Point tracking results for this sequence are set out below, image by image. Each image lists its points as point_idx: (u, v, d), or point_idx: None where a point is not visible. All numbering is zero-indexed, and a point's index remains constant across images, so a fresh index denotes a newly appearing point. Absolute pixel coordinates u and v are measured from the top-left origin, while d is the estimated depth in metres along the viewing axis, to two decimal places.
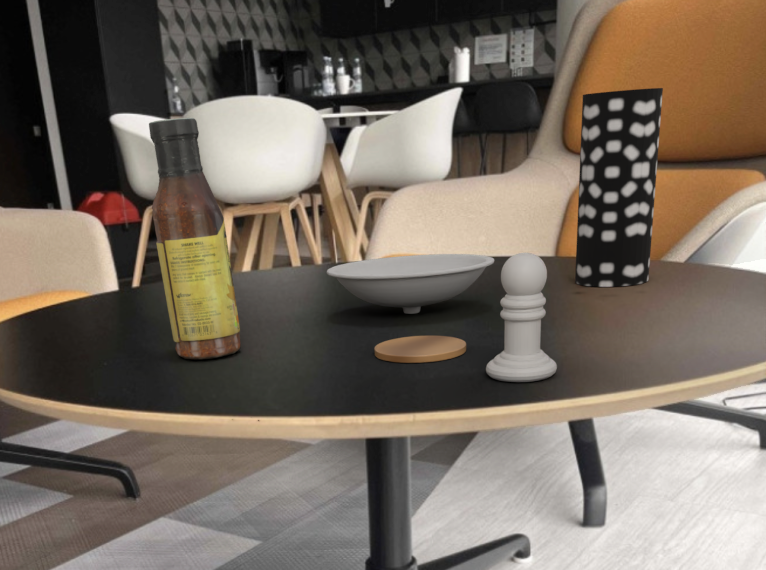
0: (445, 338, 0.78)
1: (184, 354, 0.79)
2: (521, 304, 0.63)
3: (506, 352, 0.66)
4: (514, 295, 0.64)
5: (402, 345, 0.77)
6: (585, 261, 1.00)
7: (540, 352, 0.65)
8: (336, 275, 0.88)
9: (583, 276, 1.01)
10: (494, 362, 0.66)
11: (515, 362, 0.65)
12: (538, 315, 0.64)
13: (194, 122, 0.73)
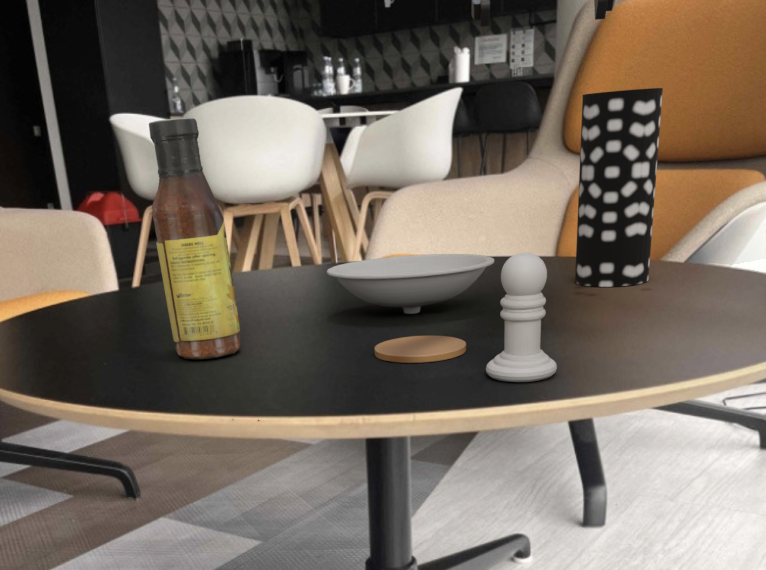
0: (445, 338, 0.78)
1: (184, 354, 0.79)
2: (521, 304, 0.63)
3: (506, 352, 0.66)
4: (514, 295, 0.64)
5: (402, 345, 0.77)
6: (585, 261, 1.00)
7: (540, 352, 0.65)
8: (336, 275, 0.88)
9: (583, 276, 1.01)
10: (494, 362, 0.66)
11: (515, 362, 0.65)
12: (538, 315, 0.64)
13: (194, 122, 0.73)
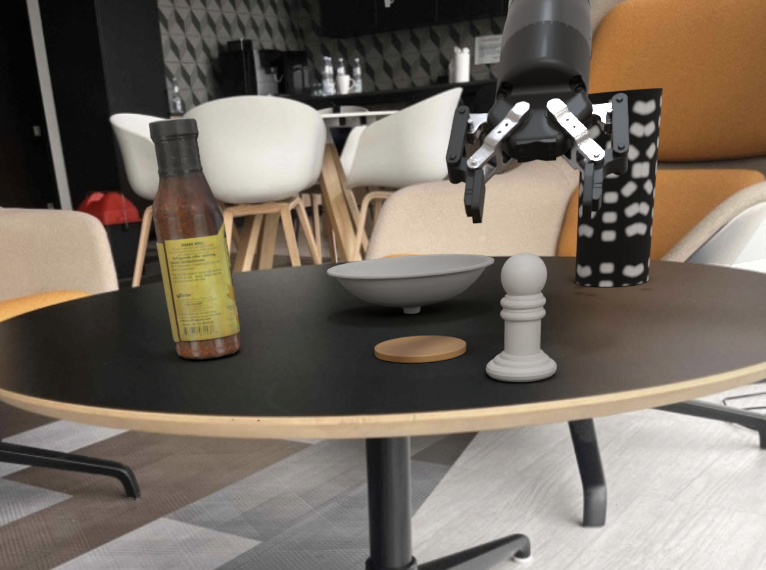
0: (445, 338, 0.78)
1: (184, 354, 0.79)
2: (521, 304, 0.63)
3: (506, 352, 0.66)
4: (514, 295, 0.64)
5: (402, 345, 0.77)
6: (585, 261, 1.00)
7: (540, 352, 0.65)
8: (336, 275, 0.88)
9: (583, 276, 1.01)
10: (494, 362, 0.66)
11: (515, 362, 0.65)
12: (538, 315, 0.64)
13: (194, 122, 0.73)
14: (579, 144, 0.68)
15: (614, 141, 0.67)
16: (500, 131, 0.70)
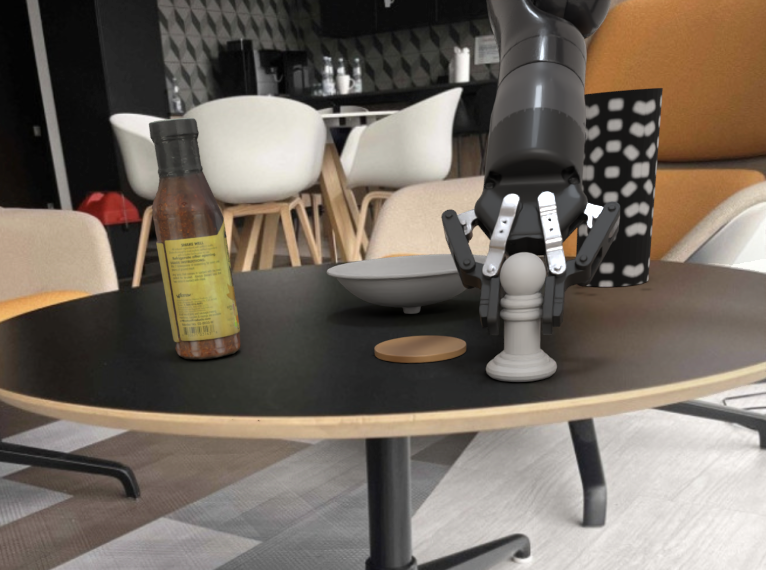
0: (445, 338, 0.78)
1: (184, 354, 0.79)
2: (520, 304, 0.63)
3: (506, 352, 0.66)
4: (513, 295, 0.64)
5: (402, 345, 0.77)
6: None
7: (540, 352, 0.65)
8: (336, 275, 0.88)
9: None
10: (494, 362, 0.66)
11: (515, 362, 0.65)
12: (537, 315, 0.64)
13: (194, 122, 0.73)
14: (548, 249, 0.64)
15: (580, 251, 0.63)
16: (502, 230, 0.65)
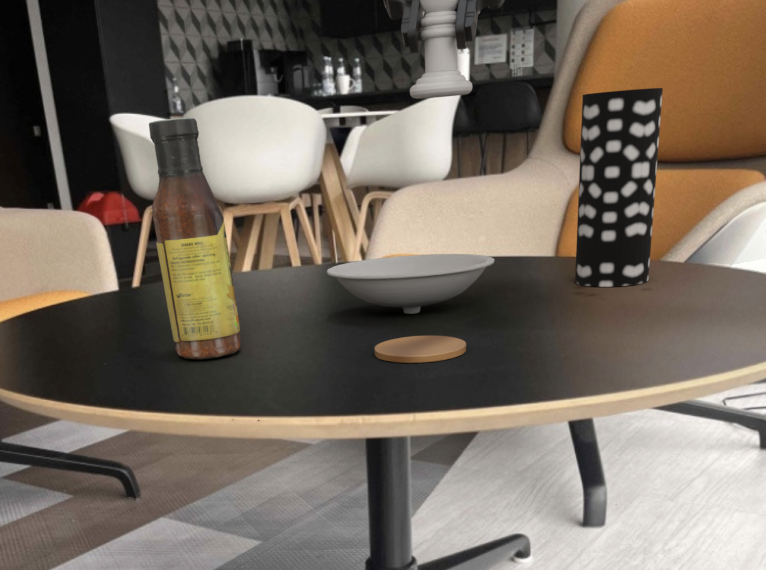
0: (445, 338, 0.78)
1: (184, 354, 0.79)
2: (437, 19, 0.71)
3: (426, 72, 0.73)
4: (431, 12, 0.71)
5: (402, 345, 0.77)
6: (585, 261, 1.00)
7: None
8: (336, 275, 0.88)
9: (583, 276, 1.01)
10: (416, 83, 0.74)
11: (433, 77, 0.72)
12: (452, 30, 0.71)
13: (194, 122, 0.73)
14: None
15: None
16: None
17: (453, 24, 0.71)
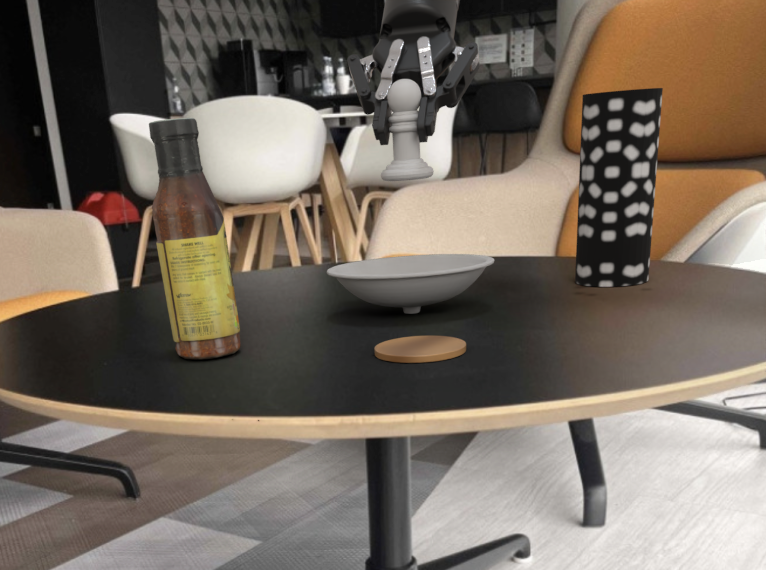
0: (445, 338, 0.78)
1: (184, 354, 0.79)
2: (402, 117, 0.84)
3: (394, 159, 0.87)
4: (397, 111, 0.85)
5: (402, 345, 0.77)
6: (585, 261, 1.00)
7: (419, 158, 0.87)
8: (336, 275, 0.88)
9: (583, 276, 1.01)
10: (386, 168, 0.88)
11: (400, 165, 0.86)
12: (415, 127, 0.85)
13: (194, 122, 0.73)
14: (423, 78, 0.85)
15: (446, 78, 0.84)
16: (390, 65, 0.86)
17: (416, 121, 0.85)
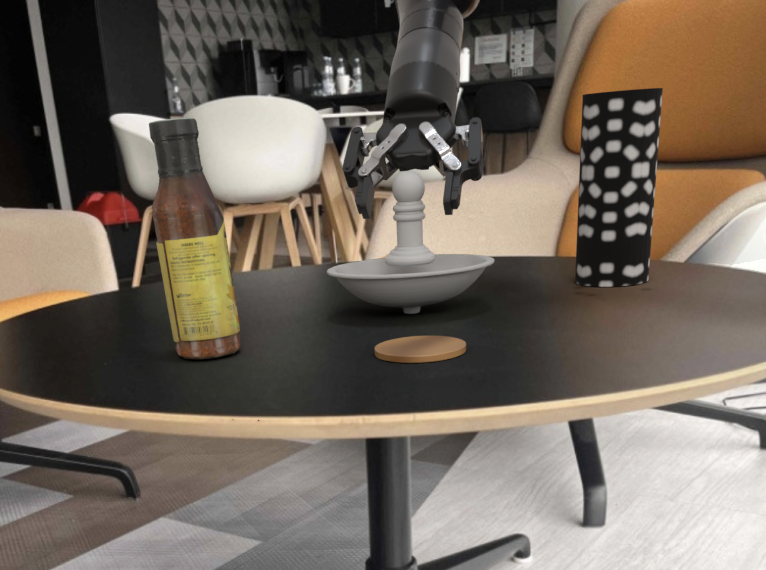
0: (445, 338, 0.78)
1: (184, 354, 0.79)
2: (405, 208, 0.88)
3: (398, 245, 0.90)
4: (401, 202, 0.88)
5: (402, 345, 0.77)
6: (585, 261, 1.00)
7: (422, 245, 0.90)
8: (336, 275, 0.88)
9: (583, 276, 1.01)
10: (390, 253, 0.91)
11: (403, 252, 0.89)
12: (418, 216, 0.88)
13: (194, 122, 0.73)
14: (442, 157, 0.88)
15: (469, 155, 0.87)
16: (383, 147, 0.89)
17: (419, 211, 0.88)
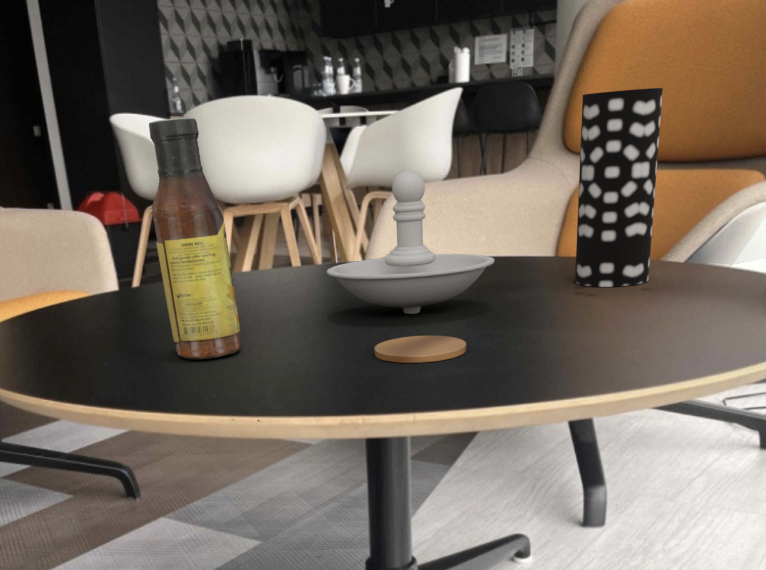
0: (445, 338, 0.78)
1: (184, 354, 0.79)
2: (405, 208, 0.88)
3: (398, 245, 0.90)
4: (401, 202, 0.88)
5: (402, 345, 0.77)
6: (585, 261, 1.00)
7: (422, 245, 0.90)
8: (336, 275, 0.88)
9: (583, 276, 1.01)
10: (390, 253, 0.91)
11: (403, 252, 0.89)
12: (418, 216, 0.88)
13: (194, 122, 0.73)
14: None
15: None
16: None
17: (419, 211, 0.88)
